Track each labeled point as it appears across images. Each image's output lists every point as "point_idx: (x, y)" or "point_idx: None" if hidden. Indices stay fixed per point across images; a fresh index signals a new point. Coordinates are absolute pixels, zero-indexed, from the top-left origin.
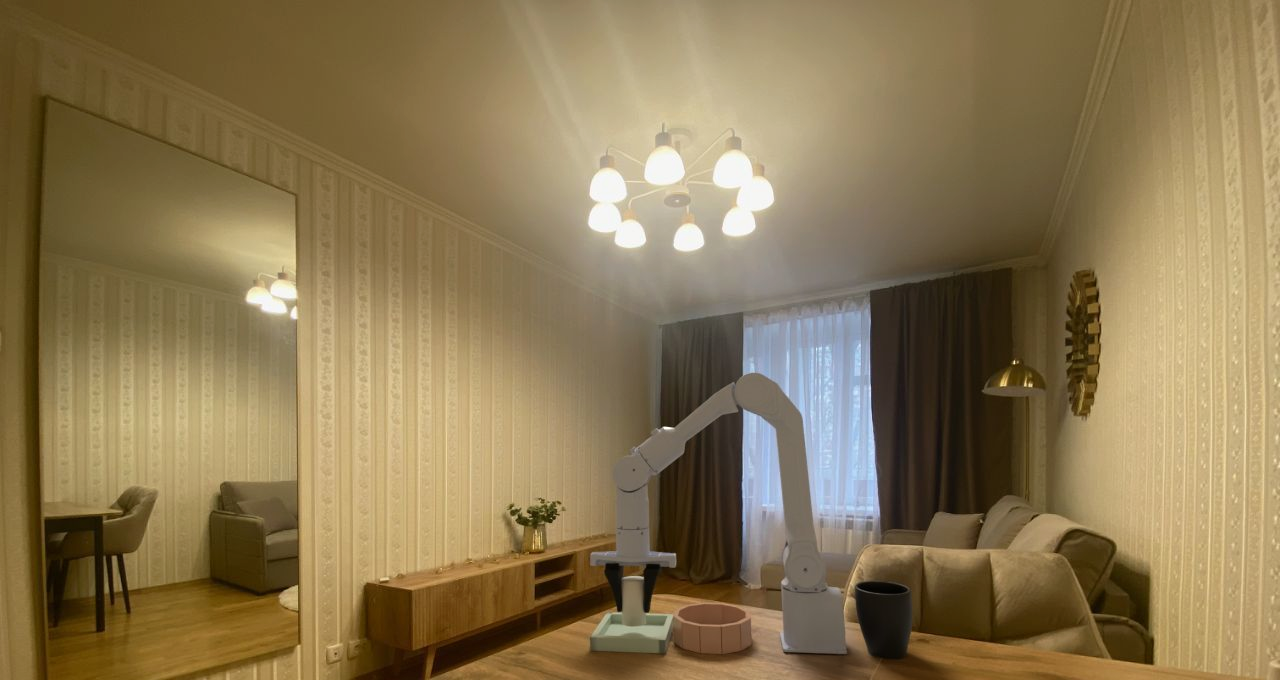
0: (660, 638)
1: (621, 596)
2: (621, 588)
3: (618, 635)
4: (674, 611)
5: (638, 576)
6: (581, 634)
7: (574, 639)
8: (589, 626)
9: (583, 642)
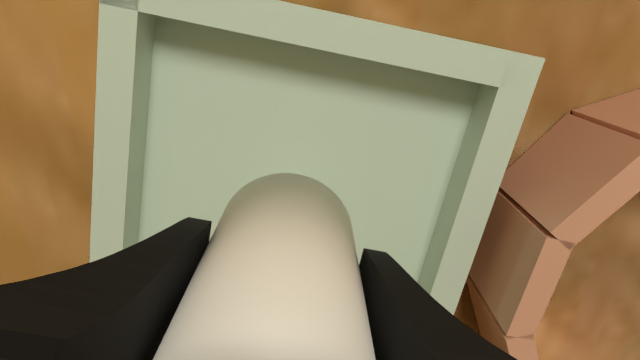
0: None
1: (178, 303)
2: (158, 315)
3: (213, 225)
4: (534, 268)
5: (319, 351)
6: (21, 133)
7: (6, 198)
8: (31, 2)
9: (59, 238)
